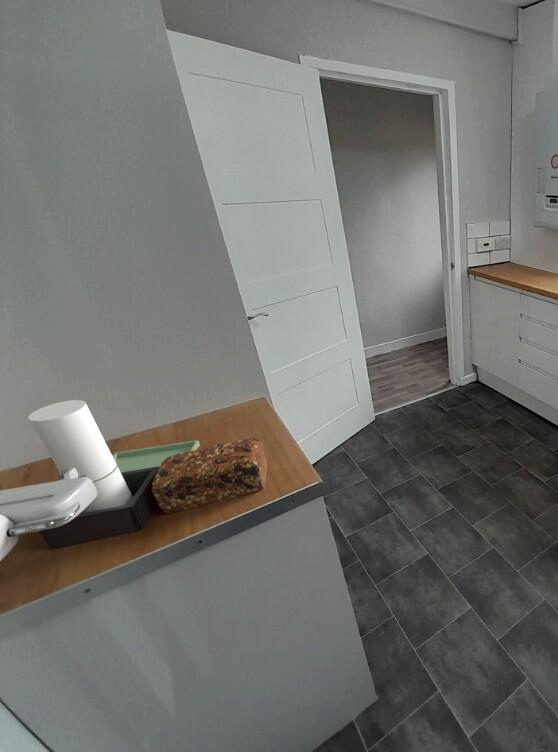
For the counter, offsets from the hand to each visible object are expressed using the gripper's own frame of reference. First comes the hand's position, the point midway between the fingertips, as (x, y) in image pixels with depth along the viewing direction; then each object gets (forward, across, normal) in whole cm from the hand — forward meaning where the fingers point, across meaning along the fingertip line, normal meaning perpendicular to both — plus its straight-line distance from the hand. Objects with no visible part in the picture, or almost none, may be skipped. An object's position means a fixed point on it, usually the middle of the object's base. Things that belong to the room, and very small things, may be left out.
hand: (33, 478), depth 65 cm
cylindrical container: (+12, 0, +19) cm, 22 cm away
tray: (+28, 0, +19) cm, 33 cm away
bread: (+14, -18, +19) cm, 30 cm away
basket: (+12, 0, +19) cm, 22 cm away
